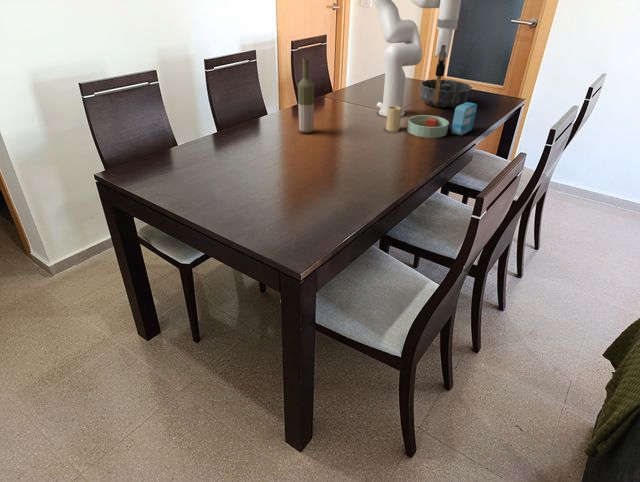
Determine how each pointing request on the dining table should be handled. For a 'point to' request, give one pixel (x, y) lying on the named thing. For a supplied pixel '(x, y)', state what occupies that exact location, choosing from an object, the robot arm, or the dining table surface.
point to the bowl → (418, 127)
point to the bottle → (306, 100)
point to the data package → (464, 118)
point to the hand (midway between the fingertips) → (439, 75)
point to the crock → (393, 118)
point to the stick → (437, 89)
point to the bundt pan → (445, 93)
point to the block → (431, 122)
